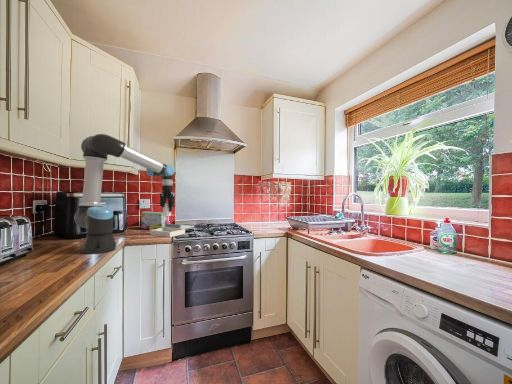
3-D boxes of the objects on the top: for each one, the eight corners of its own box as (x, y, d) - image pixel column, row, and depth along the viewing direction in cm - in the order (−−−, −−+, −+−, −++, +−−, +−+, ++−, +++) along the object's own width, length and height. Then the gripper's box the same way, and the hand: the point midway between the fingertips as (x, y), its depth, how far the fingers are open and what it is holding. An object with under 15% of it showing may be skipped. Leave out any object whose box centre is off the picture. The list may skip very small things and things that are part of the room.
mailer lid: (181, 229, 172) (181, 225, 172) (162, 227, 179) (162, 223, 179) (194, 226, 186) (195, 223, 186) (176, 225, 194) (176, 221, 194)
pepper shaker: (167, 216, 168) (167, 203, 168) (162, 216, 169) (162, 203, 169) (170, 216, 171) (170, 203, 172) (166, 215, 172) (166, 203, 173)
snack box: (140, 229, 192) (141, 211, 192) (145, 228, 198) (146, 211, 198) (161, 230, 186) (161, 212, 186) (165, 229, 191) (166, 212, 192)
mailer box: (170, 237, 160) (170, 232, 160) (149, 234, 168) (149, 230, 168) (184, 233, 175) (185, 229, 175) (165, 231, 183) (165, 227, 183)
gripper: (179, 185, 171) (179, 216, 170) (162, 185, 177) (161, 214, 177) (172, 185, 164) (172, 216, 163) (155, 185, 170) (154, 215, 170)
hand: (166, 215), depth 170 cm, fingers closed on pepper shaker, 4 cm apart
